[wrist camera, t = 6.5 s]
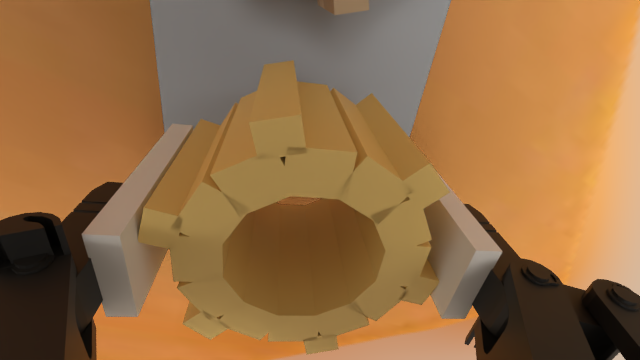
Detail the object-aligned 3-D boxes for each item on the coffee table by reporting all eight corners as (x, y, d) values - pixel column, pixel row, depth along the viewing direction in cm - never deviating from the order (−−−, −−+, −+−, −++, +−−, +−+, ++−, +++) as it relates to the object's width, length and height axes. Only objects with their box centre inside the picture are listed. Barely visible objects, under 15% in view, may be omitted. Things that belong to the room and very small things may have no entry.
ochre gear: (189, 46, 11) (109, 94, 6) (416, 75, 13) (507, 135, 7) (199, 234, 15) (158, 356, 10) (369, 241, 17) (407, 353, 12)
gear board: (126, -347, 11) (-157, -943, 4) (504, -234, 13) (760, -486, 6) (177, 173, 21) (124, 267, 14) (384, 187, 23) (427, 275, 16)
